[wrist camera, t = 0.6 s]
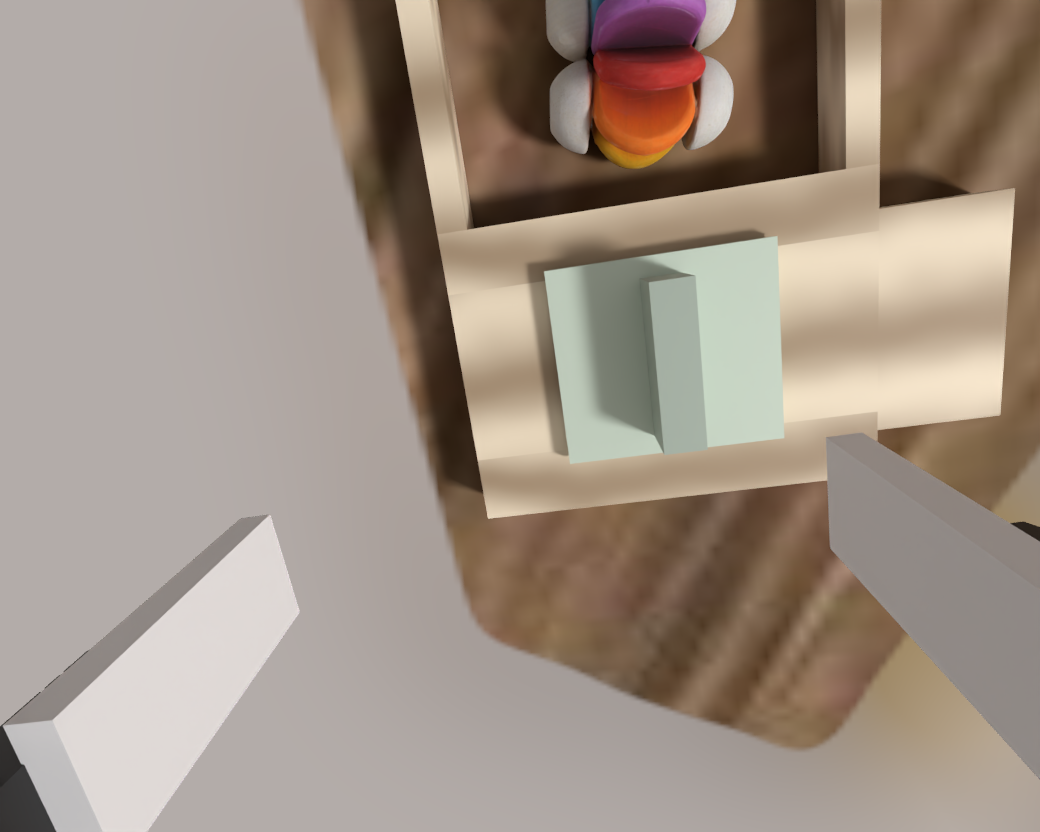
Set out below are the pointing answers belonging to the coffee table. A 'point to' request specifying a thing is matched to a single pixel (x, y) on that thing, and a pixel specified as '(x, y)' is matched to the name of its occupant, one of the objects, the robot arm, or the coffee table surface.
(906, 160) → the coffee table surface
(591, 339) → the lid
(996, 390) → the board
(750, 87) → the coffee table surface
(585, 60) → the rainbow toy vehicle
